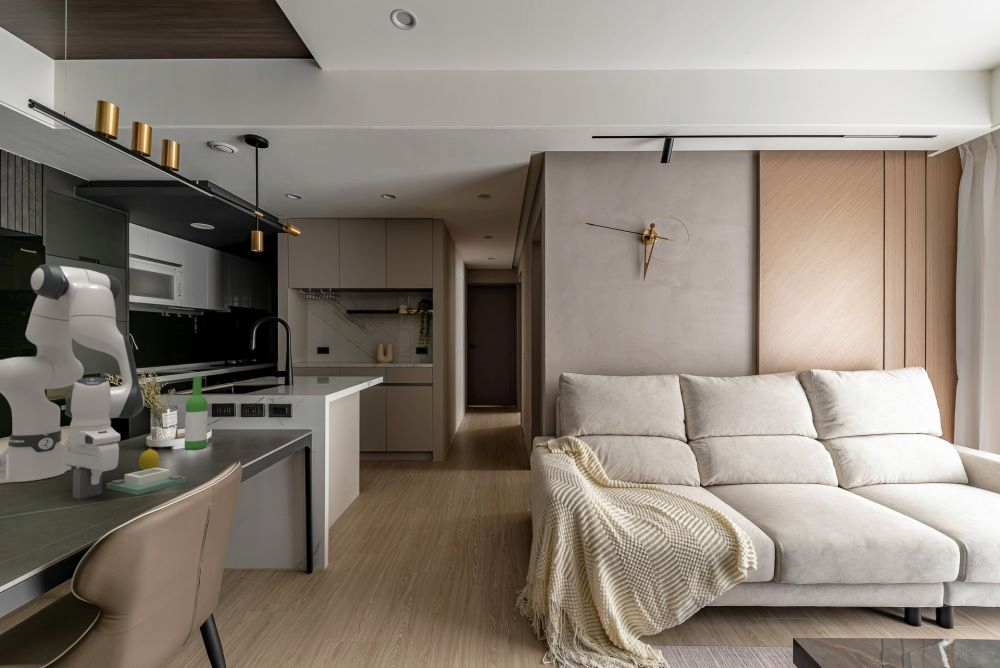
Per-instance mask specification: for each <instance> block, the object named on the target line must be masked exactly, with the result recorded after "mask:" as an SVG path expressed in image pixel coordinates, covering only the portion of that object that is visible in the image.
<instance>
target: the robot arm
mask: <svg viewBox="0 0 1000 668" xmlns="http://www.w3.org/2000/svg"><path fill="white" fill-rule="evenodd" d="M30 288H31V289H32V291H33V292H34V293H35V294H36V295H37V297H36V298H35V301H34V303H33V306H32V309H31V311H30V315H29V319H28V323H27V327H26V330H25V337H26V340H27V341H29V342H30V343H31V344H34V345H35V346H36V350H37V353H36V356H16V357H15V356H14V357H9V358H4V359H0V394H1V395H2V396H4V398H5V399H6V400H7V402H8V404H9V406H10V410H11V418H12V420H11V422H12V433H11V434H10V435H9V438H8V444H7V445H8V447H7V448H5V450H4V451H3V452H2V453H1V454H0V484H6V483H8V484H9V483H21V482H31V481H37V480H38V481H39V480H43V479H44V480H45V479H48V478H53V477H57V476H60V475H63V474H65V473H66V472H67V471H70V470H72V467H76V468H75V469H78V468H87V469H91V473H92V476H91V478H89V484H92V485H95V484H98V483H99V477H100V476H101V474H102V475H103V472H108V471H111V470H115V469H116V468H117V467H118V464H119V455H120V447H119V443H118V442H121V433H119V432H117V431H116V430H115V429H114V428H113V427H112V426H111V425H112V420H111V419H115V418H118V419H132V418H134V417H136V416H137V415H139V414H141V412H142V411H143V410H144V407H145V402H146V401H145V396H144V392H143V390H142V388H141V384H140V380H139V375H138V371H137V365H136V361H135V358H134V351H133V349H132V345H131V342H130V340H129V338H128V336H126V335H124V334H122V333H121V332H120V330H119V329H118V327H117V321H116V320H117V314H116V304H115V302H116V301H117V300H118V299H119V297H120V295H121V292H122V286H121V283H120V281H119V279H118V278H117V277H115V276H113V275H111V274H108V273H105V272H104V273H103V272H102V273H101V272H99V271H95V270H91V269H87V268H83V267H80V268H79V267H72V266H65V265H64V266H63V265H58V264H53V263H47V264H46V263H45V264H40V265H38V266H37V267H35V269H34V270H33V271H32V274H31V276H30ZM72 340H74V341H75V342H76V343H77V344H79V345H81V346H84V347H86V348H88V349H91V350H95V351H98V352H102V353H105V354H107V355H110V356H112V357H113V358H115V359H116V361H117V364H118V366H119V372H120V376H121V381H122V384H121V385H119V386H118V385H117V386H111V385H110V381H109V379H107V378H104V377H97V376H96V377H94V376H91V377H84V372H85V370H84V366H83V363H82V362H81V361H80V360H79V359H78V358H77V357H76V356H75V354H74V352H73V343H72V342H73V341H72ZM83 377H84V378H83ZM70 386H73V387H72V391H70V392H69V393H68V394H66V395H65V396H64V399H65V412H64V415H66V416H67V417H69V418H71V422H70V425H69V436H68V439H67V440H66V441H65V443H64V444H62V443H61V442H62V437H63V434H62V430H60V429H61V428H60V427H61V408H60V406H59V405H58V404H56V403H55V402H52V401H50V400H49V399H48V398H47V396H46V390H53V389H62V388H66V387H70Z"/></svg>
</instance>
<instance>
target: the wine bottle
mask: <svg viewBox="0 0 1000 668" xmlns="http://www.w3.org/2000/svg"><path fill="white" fill-rule="evenodd" d="M202 377H203V376H202V375H194V376H193V377H192V378H193V380H192V395H191V396H190V397H189V398H188V399H187V400H186V402H185V412H184V413H185V415H184V417H185V420H184V449H186V450H188V451H190V450H192V451H193V450H200V449H202V450H203V449H204V448H206V447H207V444H208V443H207V441H208V400H207V398H206V397H205V396H203V395H202V382H203V381H202Z"/></svg>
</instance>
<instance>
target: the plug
mask: <svg viewBox="0 0 1000 668" xmlns="http://www.w3.org/2000/svg"><path fill="white" fill-rule="evenodd" d="M72 471H73V473H72V474H73V477H72V499H76V500H84V499H88V498H91V497H96V496H100V495H101V494H102V493H103V492H102V491H103V490H102V489H103V487H102V486H103V473H102V474H101V476H100V477H99V483H98V484H95V485H92V484H89V478H91V476H92V473H91V469H87V468H78V469H76V468H74V469H72Z"/></svg>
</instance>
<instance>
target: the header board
mask: <svg viewBox="0 0 1000 668" xmlns="http://www.w3.org/2000/svg"><path fill="white" fill-rule="evenodd" d="M123 475H124V479H122V478H121V479H119V478H118V479H115V480H112V481H110V482H108V483H106V489H108V490H113V491H115V492H116V491H117V492H121V493H126V494H131V495H134V496H135V495H136V496H141V495H144V494H148V493H151V491H152V492H154V491H158V490H162V489H165V488H171V487H173V486H177V485H181V484H185V483H187V477H186V476H183V475H178V474H177V475H175V474H171V469H166V468H162V467H161V468H160V467H156V468H152V469H147V470H139V471H134V472H131V473H125V474H123ZM147 492H148V493H147Z"/></svg>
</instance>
